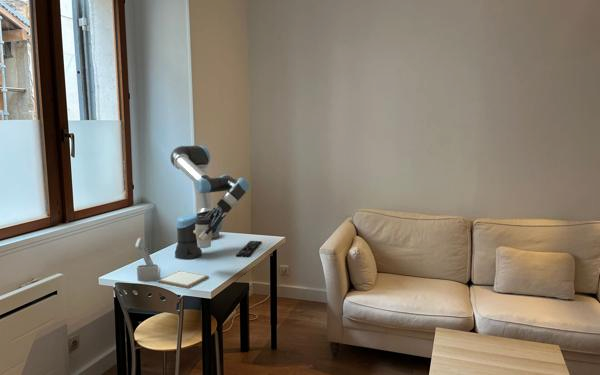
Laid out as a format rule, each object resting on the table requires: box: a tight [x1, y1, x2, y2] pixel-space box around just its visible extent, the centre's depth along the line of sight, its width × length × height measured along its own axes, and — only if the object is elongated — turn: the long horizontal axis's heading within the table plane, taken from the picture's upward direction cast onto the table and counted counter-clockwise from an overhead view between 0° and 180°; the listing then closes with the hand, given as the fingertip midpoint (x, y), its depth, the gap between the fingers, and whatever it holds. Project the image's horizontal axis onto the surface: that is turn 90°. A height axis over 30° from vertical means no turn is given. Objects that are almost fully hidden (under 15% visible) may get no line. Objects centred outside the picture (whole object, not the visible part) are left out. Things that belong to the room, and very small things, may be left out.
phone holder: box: [135, 237, 161, 281], centre depth 227 cm, size 17×10×18 cm, turn 14°
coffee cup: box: [195, 217, 212, 249], centre depth 232 cm, size 9×9×15 cm
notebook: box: [157, 270, 209, 289], centre depth 220 cm, size 18×16×1 cm
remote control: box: [235, 240, 263, 258], centre depth 274 cm, size 8×32×2 cm, turn 171°
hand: (198, 235), depth 231 cm, fingers closed on coffee cup, 9 cm apart
